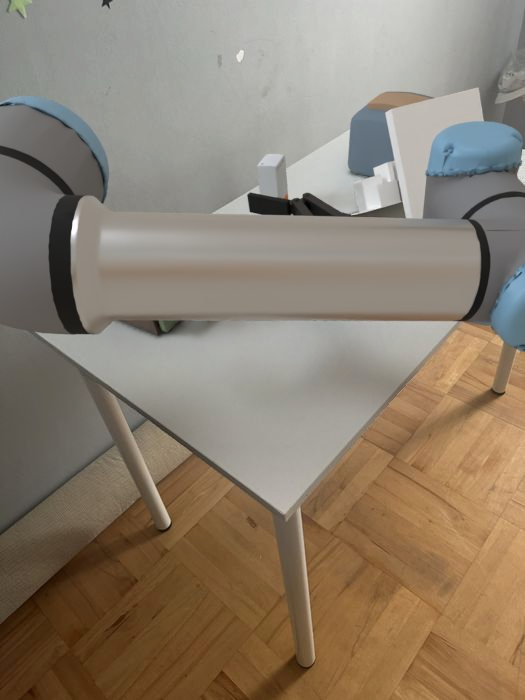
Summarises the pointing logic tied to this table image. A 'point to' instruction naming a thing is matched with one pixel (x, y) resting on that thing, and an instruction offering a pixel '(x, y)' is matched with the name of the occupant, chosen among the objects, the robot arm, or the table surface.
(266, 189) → the cosmetic box
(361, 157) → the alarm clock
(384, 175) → the white panel on stand
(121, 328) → the table surface
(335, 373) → the table surface
